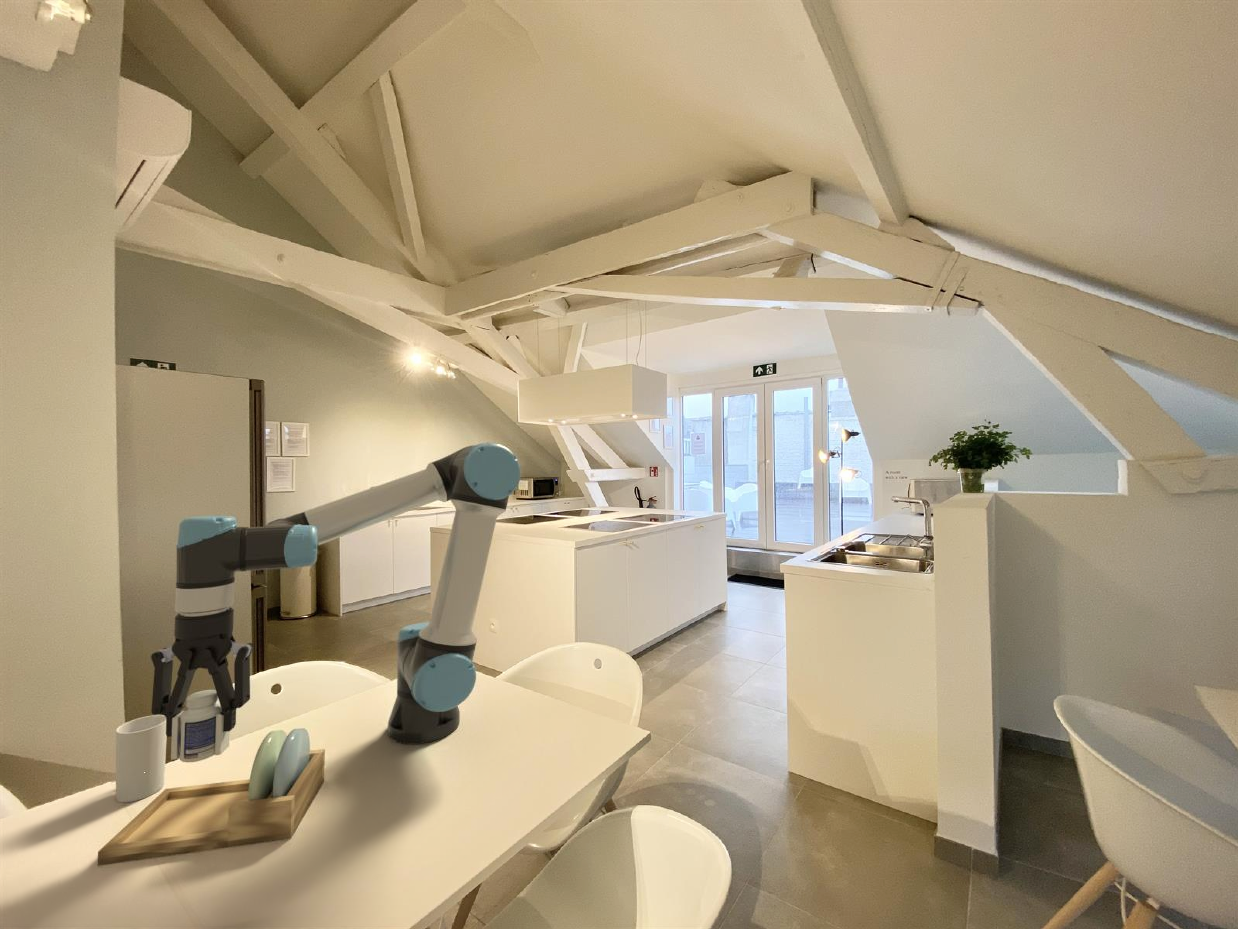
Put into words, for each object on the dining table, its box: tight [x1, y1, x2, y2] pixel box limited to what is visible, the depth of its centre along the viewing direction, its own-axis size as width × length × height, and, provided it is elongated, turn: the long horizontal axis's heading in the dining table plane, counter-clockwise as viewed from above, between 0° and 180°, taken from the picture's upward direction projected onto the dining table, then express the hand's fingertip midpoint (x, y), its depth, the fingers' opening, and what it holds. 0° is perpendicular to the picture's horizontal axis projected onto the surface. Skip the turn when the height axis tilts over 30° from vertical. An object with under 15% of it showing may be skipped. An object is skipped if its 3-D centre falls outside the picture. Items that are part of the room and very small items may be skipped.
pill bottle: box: [178, 689, 222, 763], centre depth 83 cm, size 5×5×10 cm
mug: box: [115, 714, 168, 803], centre depth 92 cm, size 10×7×12 cm, turn 16°
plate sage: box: [248, 729, 288, 801], centre depth 85 cm, size 1×12×12 cm, turn 13°
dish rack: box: [97, 748, 326, 867], centre depth 83 cm, size 25×15×6 cm, turn 103°
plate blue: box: [273, 727, 311, 798], centre depth 85 cm, size 1×12×12 cm, turn 13°
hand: (200, 752), depth 82 cm, fingers closed on pill bottle, 5 cm apart
